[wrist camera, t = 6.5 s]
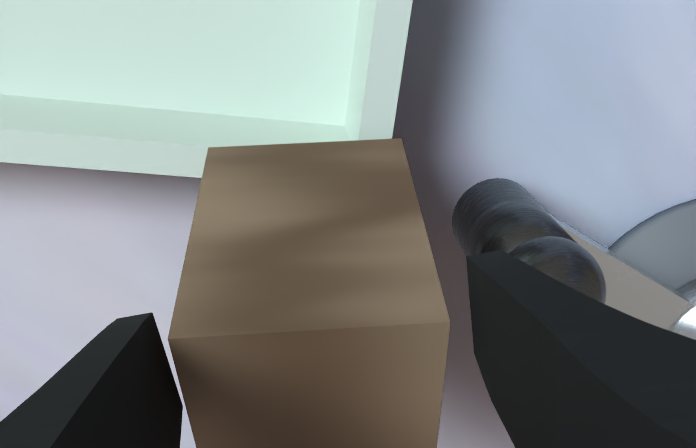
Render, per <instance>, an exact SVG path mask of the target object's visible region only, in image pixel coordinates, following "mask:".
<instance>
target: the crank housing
mask: <svg viewBox="0 0 696 448" xmlns="http://www.w3.org/2000/svg"><path fill="white" fill-rule="evenodd" d="M608 249H609V250H610V251H612V252H614V253H615V254H617V255H619V256H620V257H622V258H624V259H625V260H627V261H629V262H630V263H632V264H634V265H635V266H637V267H639V268H640V269H642V270H644V271H645V272H647V273H649V274H650V275H652V276H654V277H655V278H657V279H659V280H660V281H662V282H664V283H665V284H667V285H669V286H670V287H672V288H674V289H675V290H676V289H678V288H679V287H681V286H682V285H684V284H686V283H688V282H690V281H692V280H694V279H696V199H694V200H691V201H688V202H685V203H682V204H678V205H676V206H673V207H671V208H669V209H666V210H664V211H662V212H660V213H657V214H656V215H654V216H652V217H650V218H649V219H647V220H645V221H643V222H642V223H640V224H638V225H637V226H635V227H634V228H633V229H631V230H630V231H628V232H627V233H626V234H624V235H623V236H622V237H621V238H619V239H618V240H617V241H616V242H615V243H614V244H613V245H611V246H610V247H609V248H608Z"/></svg>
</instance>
